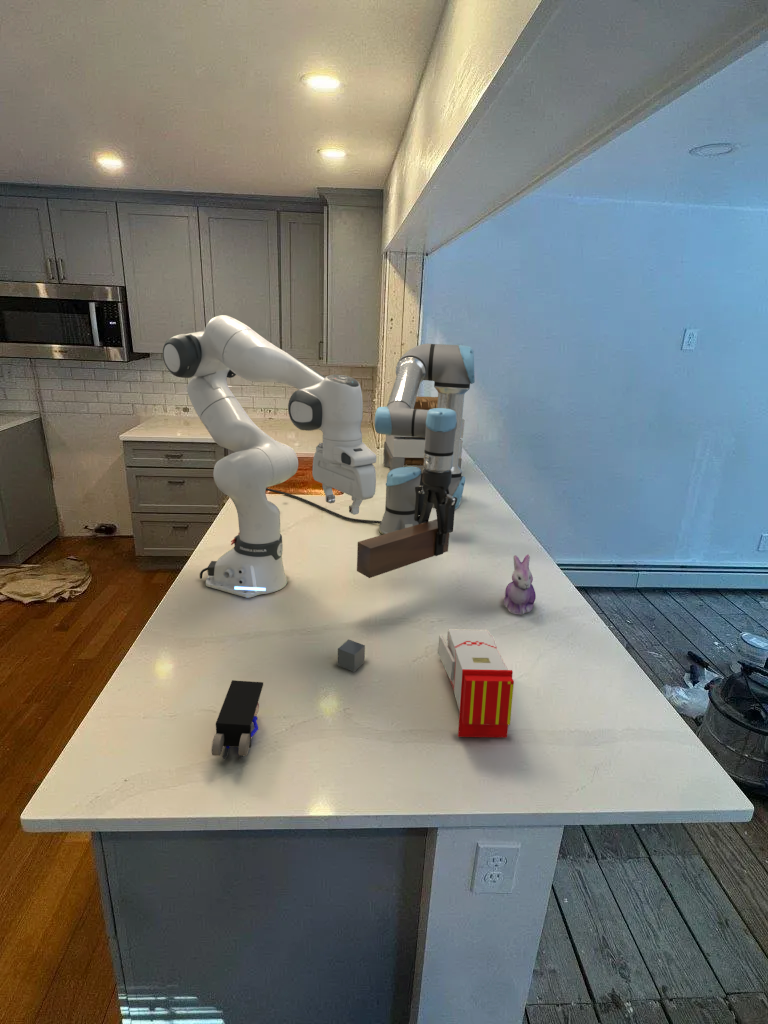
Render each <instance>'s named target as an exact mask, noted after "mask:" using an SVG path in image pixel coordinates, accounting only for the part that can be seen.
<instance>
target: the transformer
mask: <svg viewBox="0 0 768 1024" xmlns="http://www.w3.org/2000/svg"><path fill="white" fill-rule="evenodd" d="M437 402H438V396H418V395H417V397H416V401H415V405H414V409H421V410H430V409H433V408H437ZM464 429H465V419H464V418H462V426H461V437H460V448H459V459H458V467H459V468H460V469H461V470H462V461H463V460H462V453H463V442H464V441H463V440H462V439H463V438H464V431H465V430H464ZM424 450H425V438H422V437H411V436H395V435H390V436H389V435H385V438H384V442H383V466H384V467H388V468H389V472H390V471H391V470H393V469H396V468H400V467H405V466H406V467H417V466H418V467H424V466H423V465H424Z"/></svg>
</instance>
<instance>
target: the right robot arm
mask: <svg viewBox="0 0 768 1024" xmlns="http://www.w3.org/2000/svg"><path fill="white" fill-rule="evenodd" d="M474 352H475V351H474V349H473V347H471V346H469V345H463V344H462V345H461V344H443V343H439V344H438V343H421V344H418V345H415V346H413V347H411V348H410V349H408V350H407V351H405V353H404V354H403V355H402V356H401V357H400V358H399V359H398V361H397V364H396V367H395V375H396V377H395V379H394V383H393V386H392V389H391V393H390V395H389V398H388V402H387V405H386V406H379V407H377V408H376V410H375V415H374V430H375V432H376V433H377V434H379V435H385V436H386V435H389V436H390V435H395V436H411V437H422V438H425V450H424V465H423V466H422V467H423V469H421V468H420V467H419V466H418V467H417V466H404V467H400V468H396V469H393V470H391V471H390V470H389V471H388V473H387V475H386V482H385V504H384V505H385V507H384V508H385V509H384V513H383V515H382V519H381V520H371V519H360V518H353V517H349V516H346V515H343V514H340V513H337V512H335V511H332V510H331V509H328V508H326V507H324V506H322V505H319V504H317V503H315V502H312V501H310V500H308V499H305V498H303V497H300V496H297V495H294V494H292V493H288V492H286V491H281V490H277V489H273V488H269V487H267V488H266V491H267V492H272V493H275V494H279V495H283V496H286V497H291V498H293V499H296V500H299V501H301V502H304V503H306V504H309V505H310V506H313V507H316V508H317V509H320V510H322V511H324V512H327V513H329V514H331V515H333V516H336V517H338V518H341V519H343V520H346V521H351V522H357V523H366V524H379V525H378V533H379V534H380V535H383V534H387V533H390V532H394V531H397V530H401V529H404V528H408V527H411V526H415V525H418V524H422V523H425V522H429V521H430V516H431V513H432V510H433V509H435V512H436V513H435V515H436V519H437V524H438V532H436V539H435V552H434V555H435V556H434V557H438V556H441V555H443V554H444V553H443V549H444V544H445V543H446V534H447V533H449V534H450V533H453V532H454V526H455V524H454V523H455V512H456V510H457V509H458V508H460V504H461V501H462V498H463V493H464V488H465V483H466V477H465V476H464V475H463V474H462V473H463V471H462V468H461V469H460V468H459V467H458V459H459V448H460V439H461V438H460V437H461V426H462V419H463V414H464V403H465V394H466V393H467V392H468V391H470V388H471V385H472V384H475V382H476V381H475V379H476V377H475V353H474ZM423 381H428V382H434V383H433V387H434V389H435V391H437V397H438V402H437V408H433V409H430V410H421V409H414V405H415V401H416V397H417V396H418V392H419V390H420V386H421V385H420V384H421V383H422V382H423Z"/></svg>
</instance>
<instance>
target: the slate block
mask: <svg viewBox="0 0 768 1024" xmlns="http://www.w3.org/2000/svg"><path fill="white" fill-rule="evenodd" d="M365 660H366V645H365V644H363V643H360V642H357V641H354V640H351V639H347V640H346V641H345V642H344V643H342V644H341V645H340V646H339V647H338V648H337V661H336V662H337V663H336V665H337V666H338V667H339V668H343V669H345V670H348V671H351V672H353V673H355V672H356V671H357V670H358V669H359V668H360V667H361V666H363V664H364V663H365V662H366V661H365Z"/></svg>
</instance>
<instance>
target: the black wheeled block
mask: <svg viewBox="0 0 768 1024" xmlns="http://www.w3.org/2000/svg"><path fill="white" fill-rule="evenodd" d="M263 687H264V682H262V681H249V680H235V679H232V680H231V682H230V684H229V686H228V690H227V692H226V694H225V698H224V700H223V703H222V706H221V708H220V711H219V713H218V715H217V718H216V722H215V734H214V735H213V736H214V737H213V740H212V744H211V756H215V757H221V755H222V758H223V760H226V759H228V756H229V752H230V748H238V751H237V752H238V758H239V760H240V761H241V760H242V759H243V758H244V756H245V757H246V756H247V755H248V753H249V750H250V748H251V746H252V738H253V737H254V735H255V734H256V733H257V732H258V731H259V726H258V725H259V724H258V722H257V721H258V717H257V715H258V713H259V711H260V703H259V702H260V701H259V700H260V697H261V693H262V690H263ZM252 725H253V729H252ZM223 749H224V750H223Z"/></svg>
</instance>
